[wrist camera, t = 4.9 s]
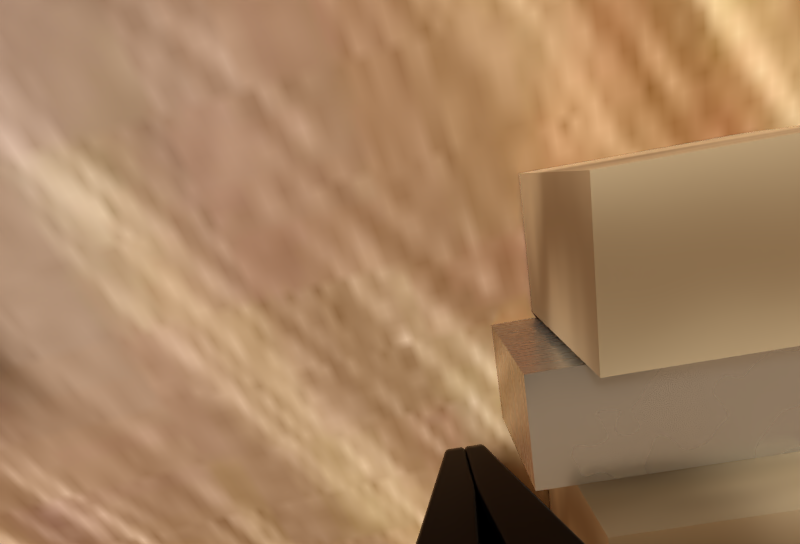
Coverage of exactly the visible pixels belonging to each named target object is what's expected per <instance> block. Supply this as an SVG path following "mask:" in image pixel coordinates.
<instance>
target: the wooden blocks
mask: <svg viewBox="0 0 800 544" xmlns="http://www.w3.org/2000/svg"><path fill="white" fill-rule="evenodd" d="M519 180H520V191H521V202H522V212H523V223H524V233H525V244H526V254H527V265H528V275H529V286H530V296H531V307H532V312H533V313H534V314H535V315H536V316H537V317H538V318H539V319H540V320H541V321H542V322H543V323H544V324H545V325H546V326H547V327H548V328H549V329H550V330H552V331H553V332H554V333H555V334H556V335H557V336H558V337H559V338H560V339H561V340H562V341H563V342H564V343H565V344H566V345H567V346H568V347H569V348H570V349H571V350H572V351H573V352H574V353H575V354H576V355H577V356H578V357H579V358H580V359H581V360H582V361H583V362H584V363H585V364H586V365H588V366H589V367H590V368H591V369H592V370H593V371H594V372H595V373H596V374H597V375H598V376H599V377H600V378H603V377H609V376H615V375H622V374H628V373H634V372H640V371H647V370H653V369H659V368H665V367H671V366H678V365H684V364H690V363H696V362H702V361H709V360H715V359H721V358H727V357H734V356H740V355H746V354H752V353H758V352H765V351H771V350H777V349H783V348H789V347H796V346H800V126H793V127H786V128H778V129H771V130H763V131H756V132H748V133H742V134H736V135H731V136H725V137H719V138H714V139H708V140H703V141H697V142H692V143H686V144H680V145H675V146H669V147H664V148H658V149H653V150H647V151H641V152H636V153H630V154H625V155H619V156H614V157H608V158H602V159H597V160H591V161H586V162H580V163H575V164H569V165H563V166H558V167H552V168H547V169H541V170H536V171H530V172H524V173H519ZM549 496H550V507H551V511H552V512H553V513H554V514H555V515H556V516H557V517H558V518H559V519H560V520H561V521H562V522H563V523H564V524H565V525H566V526H567V527H568V528H569V529H570V530H571V531H572V532H573V533H574V534H575V535H577V536H578V537H579V538H580V539H581V540H582V541H583V542H584V543H585V544H800V451H798V452H792V453H785V454H778V455H772V456H765V457H759V458H752V459H745V460H739V461H732V462H725V463H719V464H712V465H706V466H699V467H692V468H686V469H679V470H673V471H666V472H659V473H653V474H646V475H639V476H633V477H626V478H620V479H613V480H606V481H600V482H593V483H587V484H580V485H573V486H567V487H560V488H553V489H549Z"/></svg>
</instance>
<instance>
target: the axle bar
mask: <svg viewBox="0 0 800 544" xmlns="http://www.w3.org/2000/svg"><path fill="white" fill-rule="evenodd" d="M491 326H492V335H493V343H494V351H495V359H496V368H497V376H498V384H499V392H500V401H501V409H502V417H503V419H504V422H505V424H506V426H507V428H508V431H509V433H510V435H511V437H512V440H513V442H514V444H515V446H516V448H517V451H518V453H519V455H520V457H521V460H522V462H523V464H524V466H525V469H526V471H527V473H528V475H529V477H530V480H531V482H532V484H533V486H534V489H535V491H540V490H547V489H553V488H560V487H567V486H573V485H580V484H587V483H593V482H600V481H606V480H613V479H620V478H626V477H633V476H639V475H646V474H653V473H659V472H666V471H673V470H679V469H686V468H692V467H699V466H706V465H712V464H719V463H725V462H732V461H739V460H745V459H752V458H759V457H765V456H772V455H778V454H785V453H792V452H798V451H800V346H796V347H789V348H783V349H777V350H771V351H765V352H758V353H752V354H746V355H740V356H734V357H727V358H721V359H715V360H709V361H702V362H696V363H690V364H684V365H678V366H671V367H665V368H659V369H653V370H647V371H640V372H634V373H628V374H622V375H615V376H609V377H603V378H600V377H599V376H598V375H597V374H596V373H595V372H594V371H593V370H592V369H591V368H590V367H589V366H588V365H586V364H585V363H584V362H583V361H582V360H581V359H580V358H579V357H578V356H577V355H576V354H575V353H574V352H573V351H572V350H571V349H570V348H569V347H568V346H567V345H566V344H565V343H564V342H563V341H562V340H561V339H560V338H559V337H558V336H557V335H556V334H555V333H554V332H553V331H552V330H550V329H549V328H548V327H547V326H546V325H545V324H544V323H543V322H542V321H541V320H540V319H539V318H538V317H537V318H531V319H524V320H518V321H512V322H506V323H500V324H494V325H491Z"/></svg>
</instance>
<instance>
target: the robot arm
mask: <svg viewBox="0 0 800 544" xmlns="http://www.w3.org/2000/svg"><path fill="white" fill-rule="evenodd" d="M416 544H585V543H584V542H583V541H582V540H581V539H580V538H579V537H578V536H577V535H575V534H574V533H573V532H572V531H571V530H570V529H569V528H568V527H567V526H566V525H565V524H564V523H563V522H562V521H561V520H560V519H559V518H558V517H557V516H556V515H555V514H554V513H553V512H552V511H551V510H550V509H549V508H548V507H547V506H546V505H545V504H544V503H543V502H542V501H540V500H539V499H538V498H537V497H536V496H535V495H534V494H533V493H532V492H531V491H530V490H529V489H528V488H527V487H526V486H525V485H524V484H523V483H522V482H521V481H520V480H519V479H518V478H517V477H516V476H515V475H514V474H513V473H512V472H511V471H510V470H509V469H508V468H507V467H506V466H504V465H503V464H502V463H501V462H500V461H499V460H498V459H497V458H496V457H495V456H494V455H493V454H492V453H491V452H490V451H489V450H488V449H487V448H486V447H485V446H484V445H481V444H480V445H473V446H467V447H466V448H465V450H464V448H462V447H460V448H454V449H448V450H446V452H445V454H444V457H443V461H442V464H441V467H440V470H439V473H438V476H437V479H436V483H435V486H434V489H433V492H432V495H431V498H430V501H429V505H428V508H427V511H426V514H425V517H424V520H423V523H422V527H421V530H420V533H419V536H418V539H417V542H416Z"/></svg>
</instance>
